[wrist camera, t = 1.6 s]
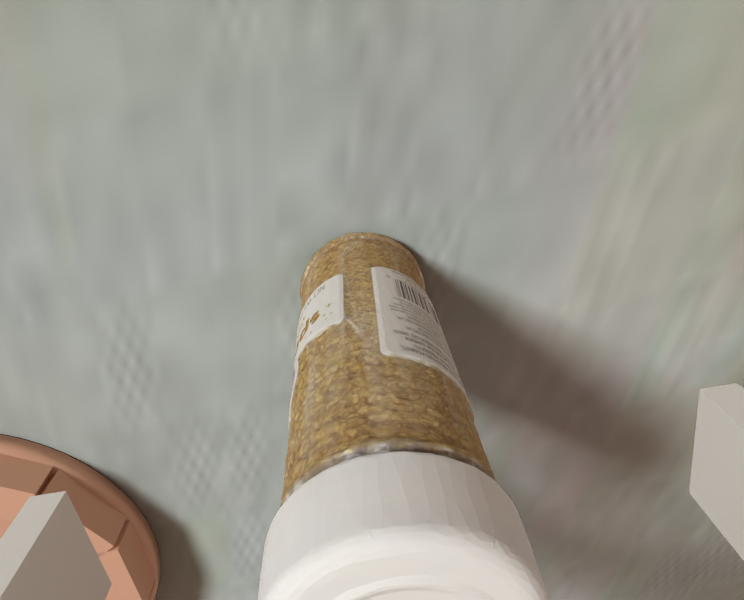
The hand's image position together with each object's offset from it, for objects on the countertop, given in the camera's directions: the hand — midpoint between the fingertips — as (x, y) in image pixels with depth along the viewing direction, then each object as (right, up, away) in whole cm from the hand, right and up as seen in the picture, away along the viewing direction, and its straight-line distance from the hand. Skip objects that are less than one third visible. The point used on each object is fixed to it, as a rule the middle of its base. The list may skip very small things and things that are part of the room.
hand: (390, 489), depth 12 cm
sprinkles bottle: (-1, +4, +9) cm, 10 cm away
